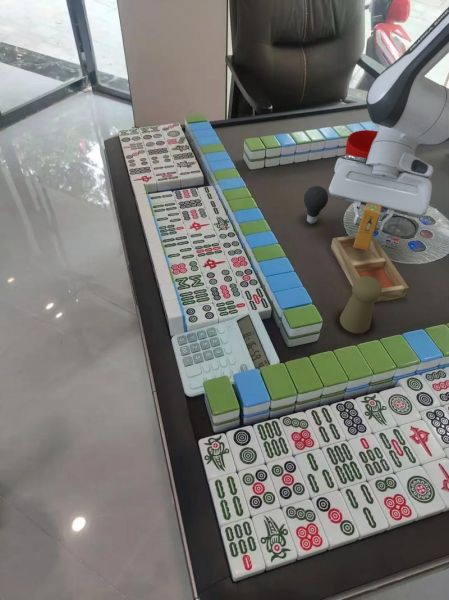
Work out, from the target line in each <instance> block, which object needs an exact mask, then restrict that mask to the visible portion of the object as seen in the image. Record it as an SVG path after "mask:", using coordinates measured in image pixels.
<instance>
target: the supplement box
mask: <svg viewBox="0 0 449 600" xmlns="http://www.w3.org/2000/svg"><path fill="white" fill-rule="evenodd" d="M381 208H382V206H380V205H376V204H372V203H367V204H366V205H365V207H364V208H363V213H362V219H361V223H360V226H358V230H357V233H356V235H357V236H356V239H355V242H354V245H353V247H354V248H358V249H362V250H365V251H368V249H369V246H370V243H371V240H372V237H373V236H374V233H375V231H376V230H375V227H376V224H377V221H379V218H380V216H381V213H382V209H381Z"/></svg>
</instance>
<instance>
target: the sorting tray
mask: <svg viewBox="0 0 449 600" xmlns="http://www.w3.org/2000/svg"><path fill="white" fill-rule="evenodd" d="M356 236H357V234H354V235H347V236H338V237H333V238H332V240H331V245H330V250H331V251H332V254H333V255H334V257H335V259H336V260H337V262H338V264H339V266H340V267H341V269H342V271H343V273H344V274H345V277H346V278H347V280H348V282H349V284H350V285H351V287H352V286H353V283H354V282H355V281H356V279H358V278H360V277H362V276H370V277H373V278H375V279H377V280H378V281H379V283H380V284H381V287H382V292H381V295H380V297H379V298H378V299H377V300H376V301H375V303H379V302H386V301H391V300H399V299H404V298H406V296H407V293H408V291H409V285H408V284H407V282H406V281H405V279H404V278H403V277H402V275H401V274H400V272H399V270H398V269H397V268H396V267H395V265H394V263H393V262H392V261H391V259H390V258H389V256H388V255H387V253H386V252H385V250H384V249H383V247H382V246H381V245H380V243H379V242H378V240H377V239H376V237H375V235H373V237H372V240H371V243H370V246H369V249H368V251H365V250H362V249H358V248H354V247H353V245H354V242H355V239H356Z"/></svg>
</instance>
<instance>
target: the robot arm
mask: <svg viewBox="0 0 449 600" xmlns="http://www.w3.org/2000/svg"><path fill="white" fill-rule="evenodd" d="M448 54H449V6H448V7H447V8H446V9H445V10H444V11H443V12H442V13H441V14H440V15H439V16H438V17H437V18H436V19H435V20H434V21H433V22H432V24H430V26H429V27H427V29H426V30H425V31H423V33H422V34H421V35H420V36H419V37H418V38H417V39H415V41H414V42H413V43H412V44H411V45H410V46H409V47H408V48H407V50H406V51H404V53H403V54H402V55H400V56H399V58H398V59H396V60H395V61H394V62H392V63H391V64H390V65H388V66H387V67H386V68H385V69H384V70H383V71H382V72H380V73H379V74H378V75H377V76H376V78H375V79H374V81H372V83H371V85H370V86H369V89H368V91H367V94H366V98H365V99H366V100H365V102H366V109H367V114H368V116H369V118H370V121H371V122H372V123H373V124H376V125H377V131H378V133H377V136H376V138H375V139H374V141H373V143H372V145H371V148H370V152H369V155H368V158H362V157H355V156H352V155H346V156H345V155H342V156H340V157H338V158H337V159H336V161H335V164H334V167H333V168H334V169H333V170H334V175H333V176H332V179H331V182H330V184H329V187H328V193H329V196H330V198H334V199H338V200H342V201H346V202H350V203H353V204H352V210H353V214H354V218H353V222H352V225H354V226H358V227H359V226H360V223H361V219H362V216H363V215H362V216H361V215H360V214H359V210H360V208H361V205H363V206H366V204H367V203H372V204H376V205H380V206H382V208H381V210H383V211H386V212H385V216H386V217H384V218H383V220H378V221H377V224H376V227H375V230H374V231H377V232H383V229H384V226H385V225H386V223H387V222H388V221H389V220H391V219H392V218H393V216H394V213H395V214H399V215H404V216H407V217H412V218H415V219H420V218H423V217H424V216H425V215H426V214H427V213H428V210H429V206H430V203H431V198H432V193H433V183H432V181H431V178H432V176H433V174H434V166H432V165H431V164H429V163H428V162H426V161H424V160H422V159H420V158H419V157H418V156H415V154H416V149H417V147H418V146H419V145H424V146H438V145H442V144H444V143H446V142H448V141H449V87H448V86H444V85H443V84H440V83H438V82H436V81H434V80H432V79H430V78H428V77H427V76H426V75H427V74H428V73H430V71H431V70H432V69H433V68H434V67H436V66H437V65H438V64H439V63H440V62H441V61H442V60H443V59H444V58H445V57H446V56H447V55H448Z"/></svg>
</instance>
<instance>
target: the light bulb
mask: <svg viewBox="0 0 449 600" xmlns="http://www.w3.org/2000/svg"><path fill="white" fill-rule="evenodd" d="M328 201H329V195H328V191H327V190H326V189H325V188H324V187H322V186H320V185H313V186H311V187H309V188H308V189H307V190H306V191H305V193H304V195H303V202H304V203H303V204H304V205H305V208H306V213H307V215H306V216H307V217H306V221H307V222H308V223H309V224H311V225H313V224H314V223H317V221H318V217H319V215H320V213H321V211H322V210H323V209H324V208H325V207H326V206H327V204H328Z"/></svg>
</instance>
